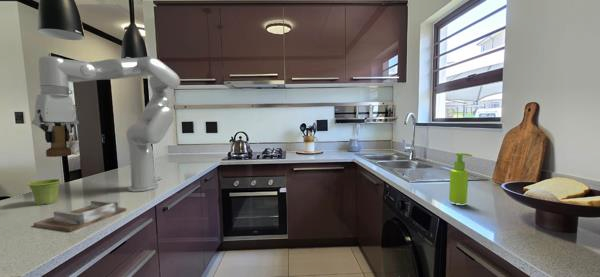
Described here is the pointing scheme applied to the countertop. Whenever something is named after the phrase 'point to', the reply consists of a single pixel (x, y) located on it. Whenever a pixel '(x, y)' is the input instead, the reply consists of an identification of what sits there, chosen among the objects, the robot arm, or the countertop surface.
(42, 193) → the plant pot
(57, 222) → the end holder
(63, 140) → the wooden chess pawn
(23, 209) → the countertop surface
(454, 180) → the soap dispenser
